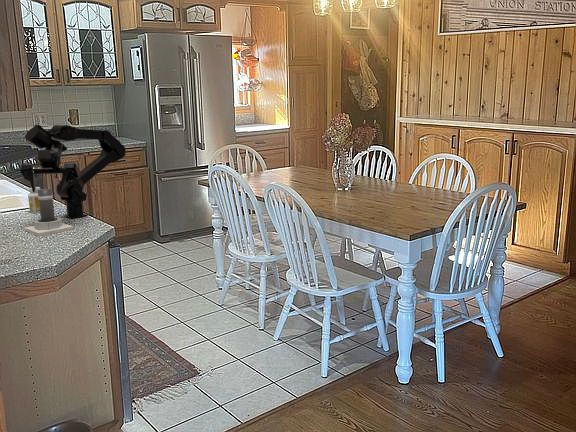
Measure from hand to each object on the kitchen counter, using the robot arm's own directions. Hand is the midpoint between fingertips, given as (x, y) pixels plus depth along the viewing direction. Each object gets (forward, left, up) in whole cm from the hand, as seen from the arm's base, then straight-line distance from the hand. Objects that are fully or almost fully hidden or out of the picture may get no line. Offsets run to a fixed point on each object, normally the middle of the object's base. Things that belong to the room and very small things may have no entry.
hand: (47, 190), depth 202 cm
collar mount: (+2, -2, -13) cm, 14 cm away
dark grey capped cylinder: (+2, -2, -12) cm, 12 cm away
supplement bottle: (-31, +8, -13) cm, 35 cm away
